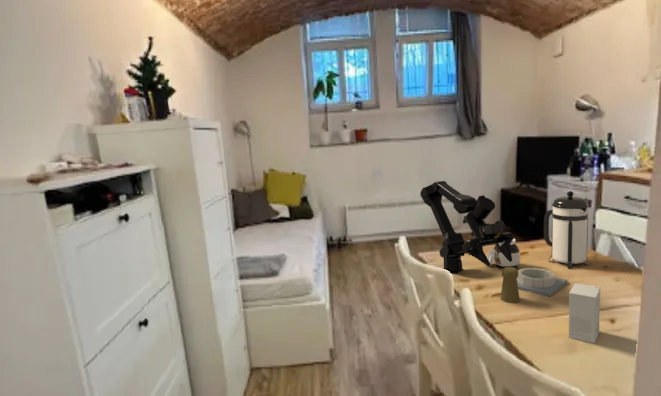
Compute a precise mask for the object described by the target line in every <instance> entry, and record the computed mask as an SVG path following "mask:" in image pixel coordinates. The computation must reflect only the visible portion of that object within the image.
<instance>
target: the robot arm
mask: <svg viewBox="0 0 661 396" xmlns="http://www.w3.org/2000/svg"><path fill="white" fill-rule="evenodd" d="M420 197H421V199H422V201H423V202H424V204H426V205H427V206H428V207H429V208H430V209H431V211H432V213H433V216H434V219H435V220H436V223H437V225H438V228H439V230H440V232H441V235H442V241H441V245H442V247H441V248H440V250H439V251H438V252H439V256H440V257H441V258H443V269H446V270H448V271H450V272H451V273H450V274H455V275H456V274H458V273H460V272H461V271H464V268H463V260H462V257H464V256H465V255H468V256H472V257H473V258H475V259H477V260H479V261H480V262H481V263H483V264H484V265H485V266H487V267H491V266H490V263H489V260H488V259H487V254H485V252H484V248H483V247H486V246H491V245H497V246H498V247H499V248H498V249H499V250H500V251H501V253H502V254H503V255H504V256H505V257H506V259H507V260H508V261H509V262H511V261H512V256H511V251H510V243H511V242H512V241H513V239H516V238H515V236H514V234H513V233H512V232H511V231H510V232H509V231H508V232H504V230H505V229H506V224H505V222H504V221H503V220H502V219H501V220H498V221H497V220H496V221H495V223H486V221H485V219H487V218H488V217H489V216H490V215H491V213H492V212H493V211H494V210H495V208H496V204H495V201H493V200H492V199H490V198H489V197H486V196H485V195H483V194H482V195H479V196H478V197H477V199H476V198H475V197H474V196H471V195H467V194H462V193H461V192H460V191H458V190H456V189H455V188H454V187H452V186H451V185H450V184H448V183H447V181H445V180H440V181H435V182H433V183H432V184H429V185H428V186H424V187H422V189H420ZM443 197H444V198H445V199H446V200H448V201H449V202H451V204H452V205H453V208H454V210H455V211H456V212H457V213H458V214H460V215H464V214H466V215H464V216H463V220H462V223H463V224H467V225H468V227H469V228H470V231H471V233H470V235H471V237H475V238H469V239H467V240H465V239H464V237H463V234H462V233H460V232H459V233H457V232H455V229H454V227H453V225H452V223H451V221H450V218H449V217H448V214H447V211H446V210H445V207H444V205H443V203H442V200H443ZM500 232H502V233H501V234H499V233H500ZM498 235H499V236H498Z"/></svg>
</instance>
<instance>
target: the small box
mask: <svg viewBox="0 0 661 396" xmlns="http://www.w3.org/2000/svg"><path fill="white" fill-rule="evenodd" d="M600 308H601V286H597V285H589V284H583V283H573V285H572V287H571V289H570V290H569V293H568V338H570V339H573V340H574V339H575V340H578V341H584V342H586V343H591V344H596V342H597V339H598V336H599V332H600V312H601V311H600V310H601V309H600Z"/></svg>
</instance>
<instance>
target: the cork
mask: <svg viewBox="0 0 661 396" xmlns="http://www.w3.org/2000/svg"><path fill="white" fill-rule="evenodd" d="M518 270H519V269H517V267H516V268H513V267H505V268H503V269H502V268H501V276H502V284H501V285H502V286H501V292H500V300H501V301H503V302H505V303H509V304H517V303H519V302H520V301H521V298H520V291H519V289H518V284H517V277H518V274H519V273H518Z"/></svg>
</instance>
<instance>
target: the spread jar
mask: <svg viewBox="0 0 661 396" xmlns="http://www.w3.org/2000/svg"><path fill="white" fill-rule="evenodd" d="M498 248H499V247H498V246H497V245H496V244H494V246H493V249H489V251H488V252H487V254H486V257H487V259H488V260H489V263H490V266H489V267H491V266H492V264H493V263H495V265H496V266H497V267H498V268H499V269H501V270H502V269H503V268H505V267H513V268H516V269H517V268H518V266H520V262H521V253H520V248H519V246H518V245H517V244H516V238H514V239H513V241H512V242H511V243H510V251H511V256H512V261H511V262H509V261H508V260H507V259H506V257H505V256H504V255H503V254H502V253H501V251H500V250H499V249H498Z"/></svg>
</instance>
